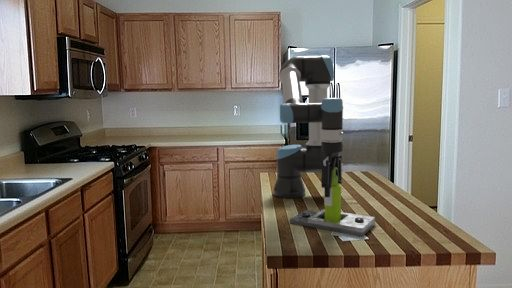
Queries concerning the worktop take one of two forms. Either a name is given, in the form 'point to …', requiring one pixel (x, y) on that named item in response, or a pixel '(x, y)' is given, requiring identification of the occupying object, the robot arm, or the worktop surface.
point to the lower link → (303, 220)
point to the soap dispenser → (334, 200)
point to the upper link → (346, 222)
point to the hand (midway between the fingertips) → (331, 203)
